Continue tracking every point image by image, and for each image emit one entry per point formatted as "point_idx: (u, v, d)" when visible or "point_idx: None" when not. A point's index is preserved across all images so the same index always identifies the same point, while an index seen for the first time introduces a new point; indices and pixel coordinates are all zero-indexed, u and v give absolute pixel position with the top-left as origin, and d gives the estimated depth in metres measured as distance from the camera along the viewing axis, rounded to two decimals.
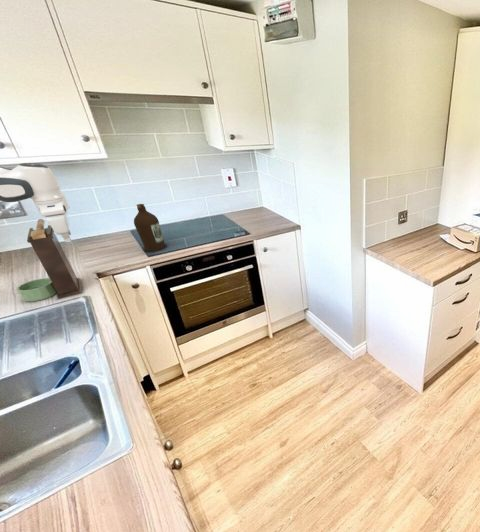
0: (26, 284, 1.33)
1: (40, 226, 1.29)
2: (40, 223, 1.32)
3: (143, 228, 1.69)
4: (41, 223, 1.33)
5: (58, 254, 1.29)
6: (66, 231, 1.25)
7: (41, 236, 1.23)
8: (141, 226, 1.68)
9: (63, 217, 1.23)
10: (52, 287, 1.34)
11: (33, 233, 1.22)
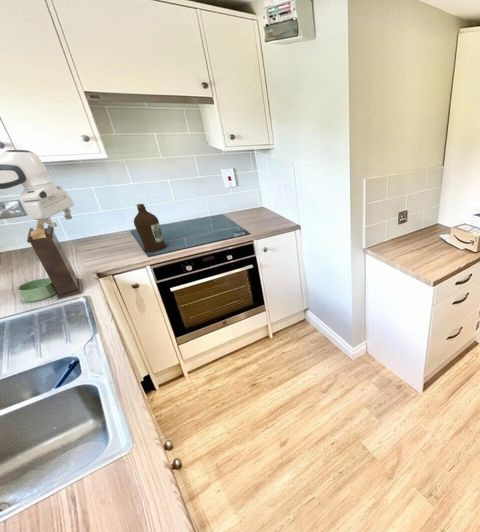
0: (26, 284, 1.33)
1: (40, 226, 1.29)
2: (40, 223, 1.32)
3: (143, 228, 1.69)
4: (41, 223, 1.33)
5: (58, 254, 1.29)
6: (41, 217, 1.26)
7: (41, 236, 1.23)
8: (141, 226, 1.68)
9: (37, 203, 1.25)
10: (52, 287, 1.34)
11: (33, 233, 1.22)
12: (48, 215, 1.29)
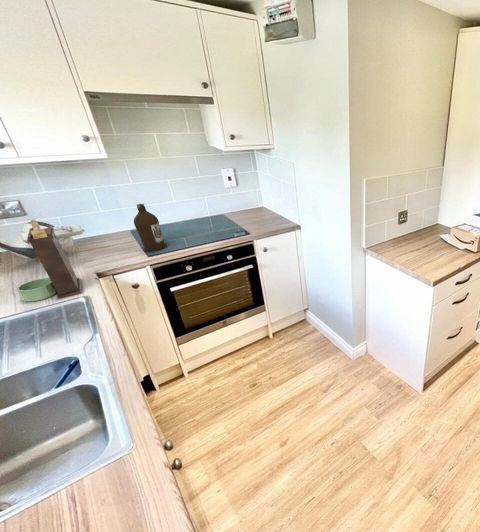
0: (26, 284, 1.33)
1: (37, 226, 1.29)
2: (35, 223, 1.32)
3: (143, 228, 1.69)
4: (36, 223, 1.32)
5: (58, 254, 1.29)
6: (20, 235, 1.44)
7: (42, 235, 1.24)
8: (141, 226, 1.68)
9: None
10: (52, 287, 1.34)
11: (34, 233, 1.23)
12: None
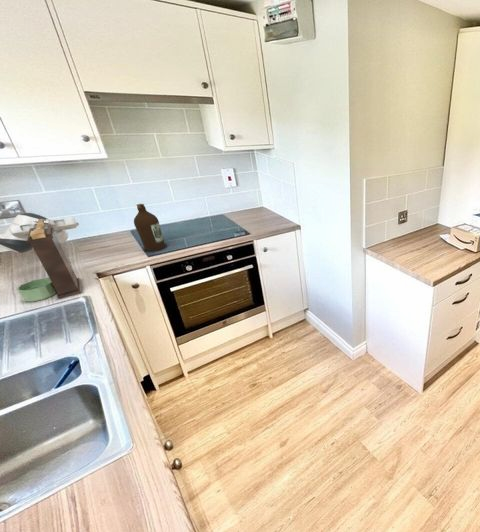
0: (26, 284, 1.33)
1: (40, 226, 1.29)
2: (40, 223, 1.32)
3: (143, 228, 1.69)
4: (41, 223, 1.33)
5: (58, 254, 1.29)
6: (9, 227, 1.33)
7: (41, 236, 1.23)
8: (141, 226, 1.68)
9: None
10: (52, 287, 1.34)
11: (33, 233, 1.23)
12: (18, 224, 1.35)
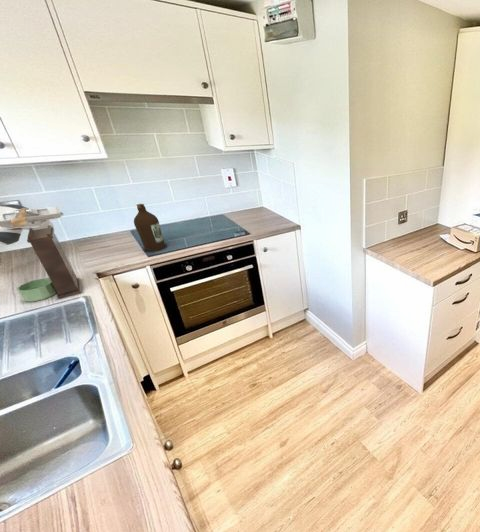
0: (26, 284, 1.33)
1: (22, 214, 1.30)
2: (22, 211, 1.33)
3: (143, 228, 1.69)
4: (23, 211, 1.33)
5: (58, 254, 1.29)
6: None
7: (21, 223, 1.24)
8: (141, 226, 1.68)
9: None
10: (52, 287, 1.34)
11: (13, 220, 1.23)
12: None
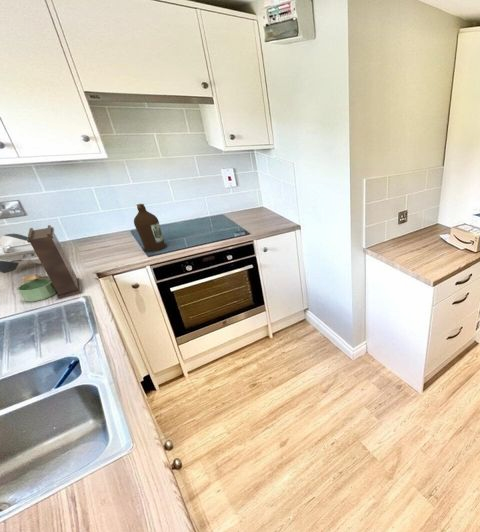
0: (26, 284, 1.33)
1: None
2: None
3: (143, 228, 1.69)
4: None
5: (58, 254, 1.29)
6: None
7: (32, 278, 1.30)
8: (141, 226, 1.68)
9: None
10: (52, 287, 1.34)
11: (25, 276, 1.30)
12: (2, 247, 1.37)
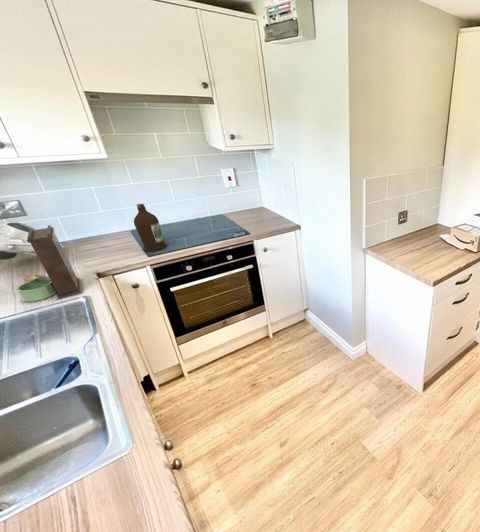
0: (26, 284, 1.33)
1: None
2: None
3: (143, 228, 1.69)
4: None
5: (58, 254, 1.29)
6: None
7: (32, 278, 1.30)
8: (141, 226, 1.68)
9: None
10: (52, 287, 1.34)
11: (25, 276, 1.30)
12: (6, 242, 1.42)
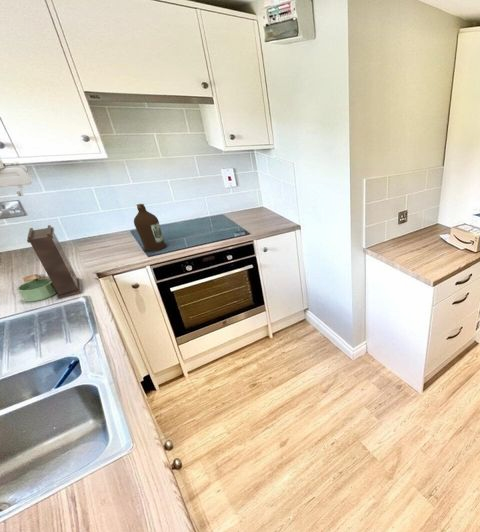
0: (26, 284, 1.33)
1: None
2: None
3: (143, 228, 1.69)
4: None
5: (58, 254, 1.29)
6: None
7: (32, 278, 1.30)
8: (141, 226, 1.68)
9: None
10: (52, 287, 1.34)
11: (25, 276, 1.30)
12: None
